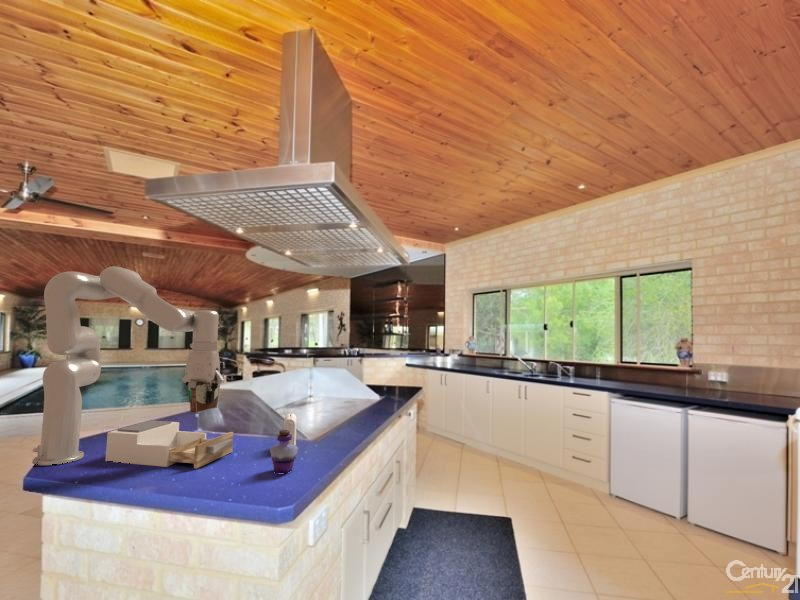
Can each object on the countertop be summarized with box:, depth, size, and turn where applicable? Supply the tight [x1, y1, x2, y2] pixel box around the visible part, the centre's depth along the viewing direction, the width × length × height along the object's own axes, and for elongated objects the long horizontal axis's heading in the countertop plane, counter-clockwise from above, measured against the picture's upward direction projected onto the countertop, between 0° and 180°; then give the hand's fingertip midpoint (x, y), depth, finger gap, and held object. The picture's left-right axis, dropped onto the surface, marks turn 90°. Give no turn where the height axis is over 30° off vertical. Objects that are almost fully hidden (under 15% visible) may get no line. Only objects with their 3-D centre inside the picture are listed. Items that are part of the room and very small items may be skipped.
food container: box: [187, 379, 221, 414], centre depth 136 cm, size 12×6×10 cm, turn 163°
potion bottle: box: [269, 429, 299, 473], centre depth 124 cm, size 9×9×12 cm
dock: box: [105, 420, 207, 468], centre depth 137 cm, size 22×18×10 cm
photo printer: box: [283, 413, 298, 446], centre depth 148 cm, size 10×4×12 cm, turn 11°
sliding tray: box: [169, 431, 234, 469], centre depth 134 cm, size 14×18×7 cm
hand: (201, 402), depth 136 cm, fingers closed on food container, 5 cm apart
